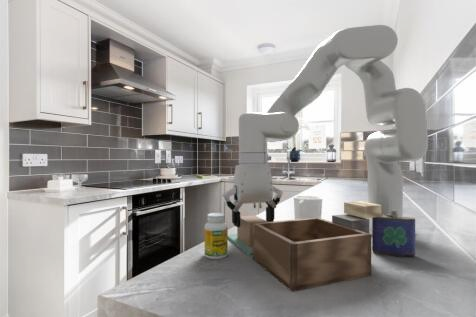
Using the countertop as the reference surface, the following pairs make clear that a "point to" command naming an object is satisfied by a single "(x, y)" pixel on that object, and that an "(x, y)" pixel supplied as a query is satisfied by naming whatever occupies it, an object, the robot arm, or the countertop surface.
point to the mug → (307, 207)
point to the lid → (245, 233)
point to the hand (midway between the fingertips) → (253, 224)
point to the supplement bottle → (216, 236)
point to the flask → (393, 235)
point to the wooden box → (313, 250)
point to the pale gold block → (362, 209)
